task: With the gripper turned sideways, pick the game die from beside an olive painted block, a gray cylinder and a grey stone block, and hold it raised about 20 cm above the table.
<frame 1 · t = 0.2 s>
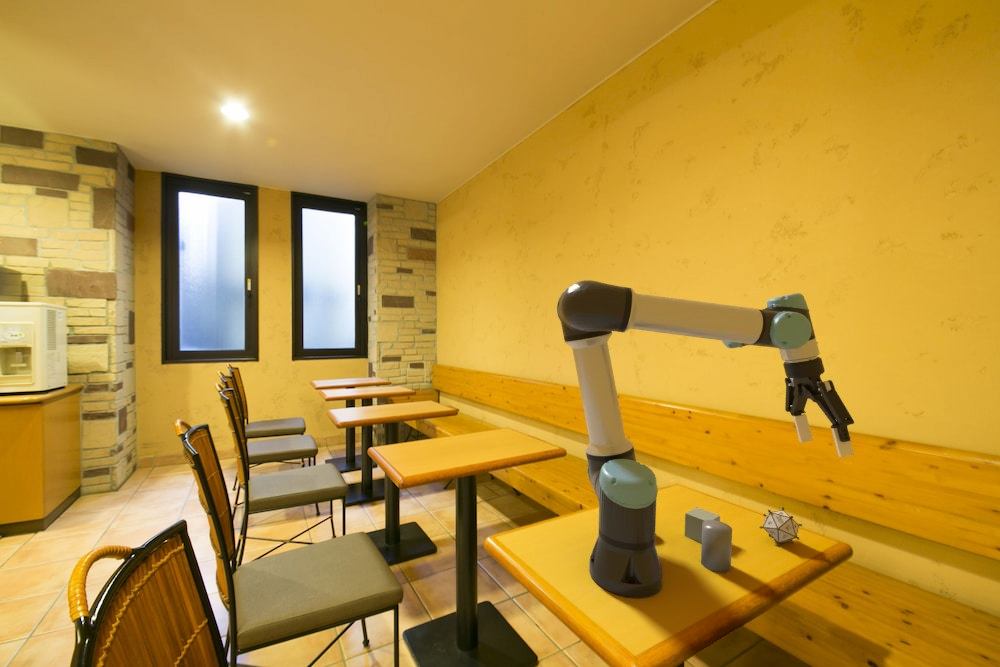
hand: (825, 448, 98), 26 cm above the table, tool tilted 15°, fingers open, 13 cm apart
stone block: (631, 528, 113), on the table
game die: (780, 542, 107), on the table
olive block: (701, 537, 108), on the table
gray cylinder: (715, 565, 96), on the table
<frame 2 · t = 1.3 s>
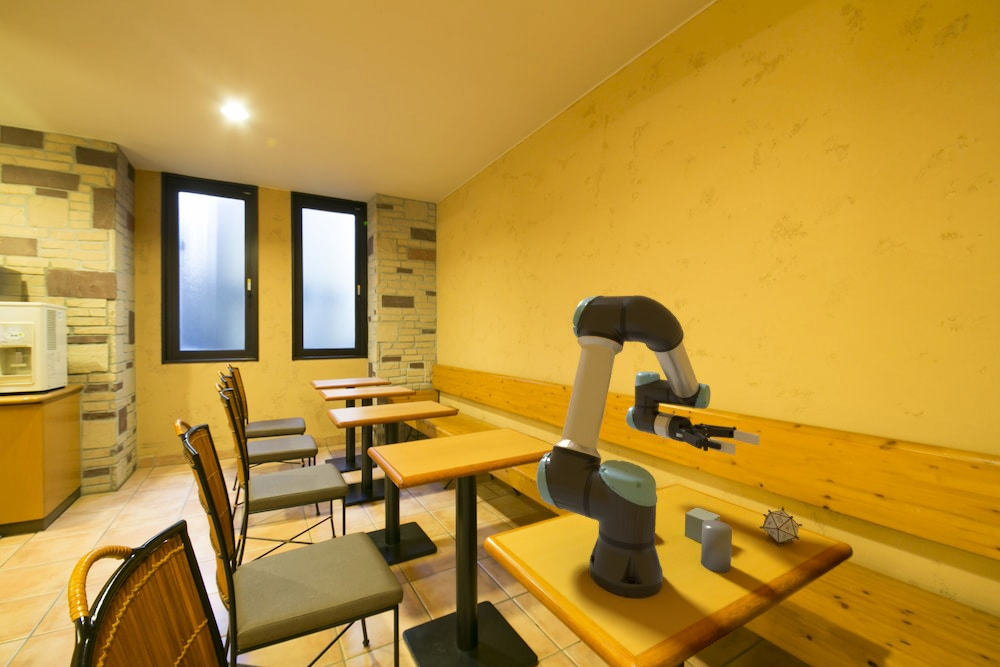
hand: (747, 444, 112), 23 cm above the table, tool horizontal, fingers open, 13 cm apart
nothing on the table moved.
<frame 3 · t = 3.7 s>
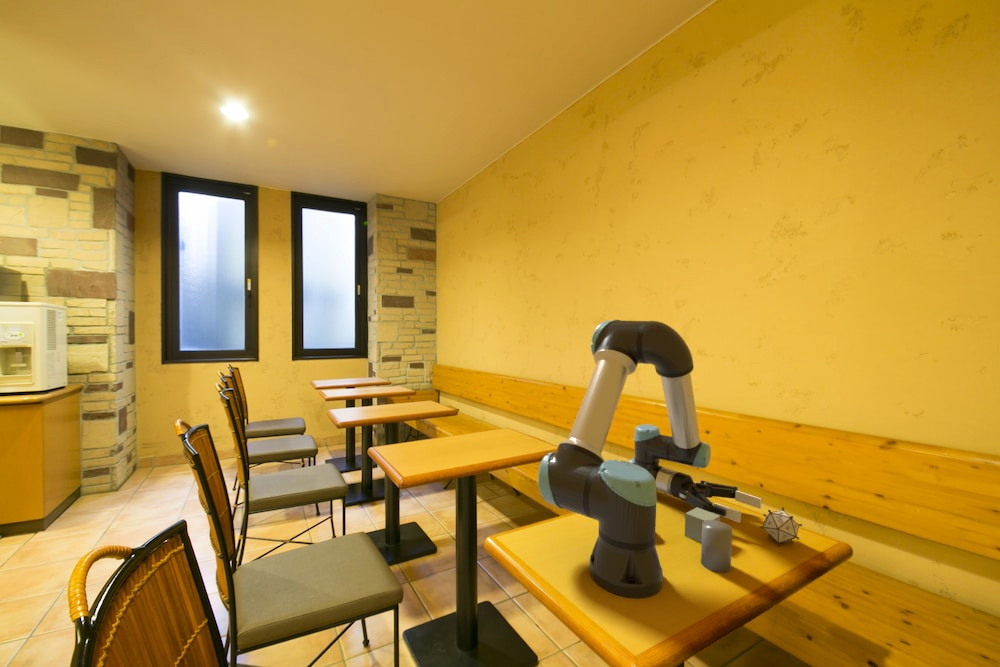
hand: (751, 510, 113), 5 cm above the table, tool horizontal, fingers open, 13 cm apart
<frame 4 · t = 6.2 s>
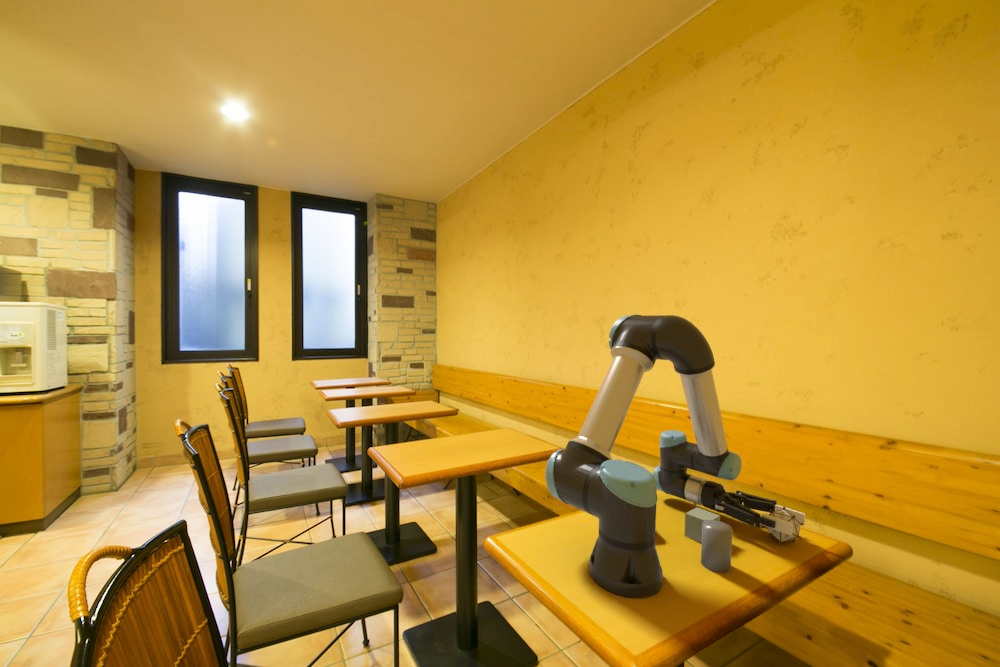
hand: (798, 524, 104), 6 cm above the table, tool horizontal, fingers closed on game die, 8 cm apart
game die: (781, 541, 107), on the table, touching gripper
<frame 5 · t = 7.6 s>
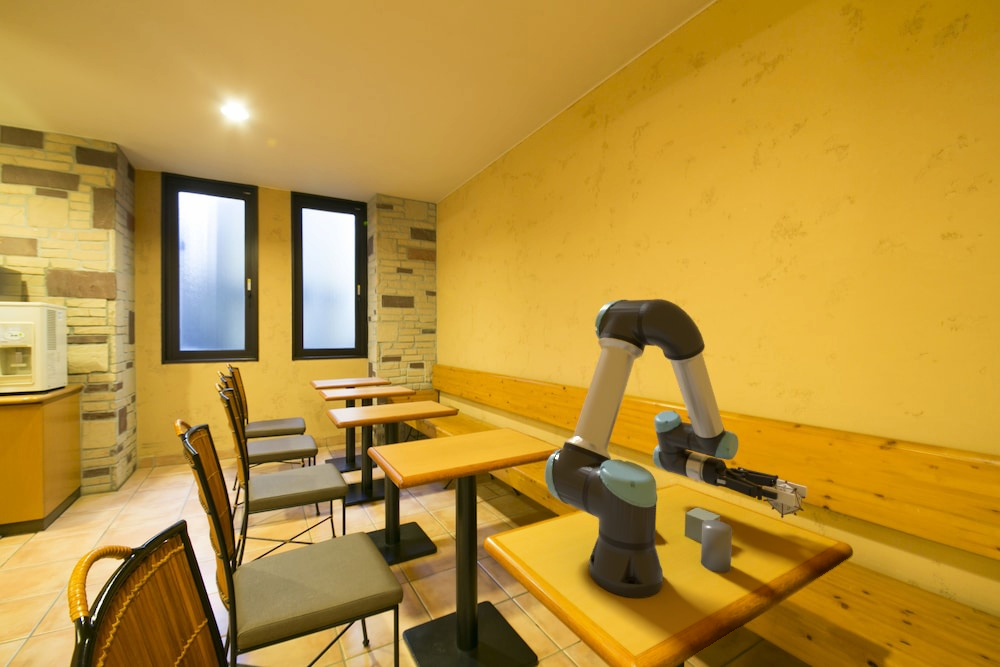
hand: (800, 496, 104), 13 cm above the table, tool horizontal, fingers closed on game die, 8 cm apart
game die: (783, 515, 107), point 7 cm above the table, touching gripper
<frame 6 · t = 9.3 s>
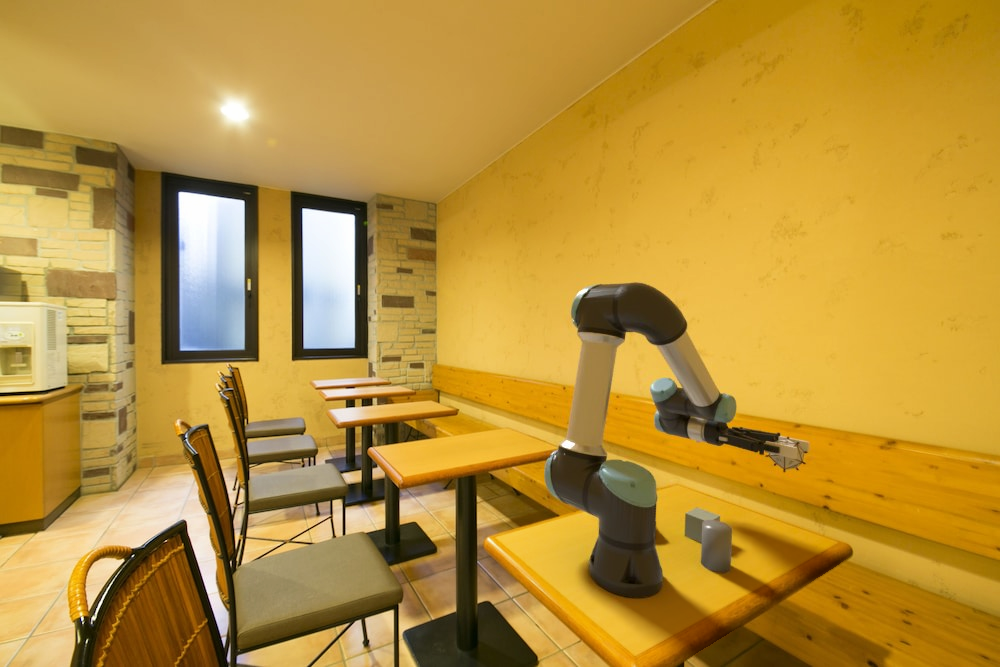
hand: (802, 450, 103), 24 cm above the table, tool horizontal, fingers closed on game die, 8 cm apart
game die: (785, 470, 107), point 18 cm above the table, touching gripper
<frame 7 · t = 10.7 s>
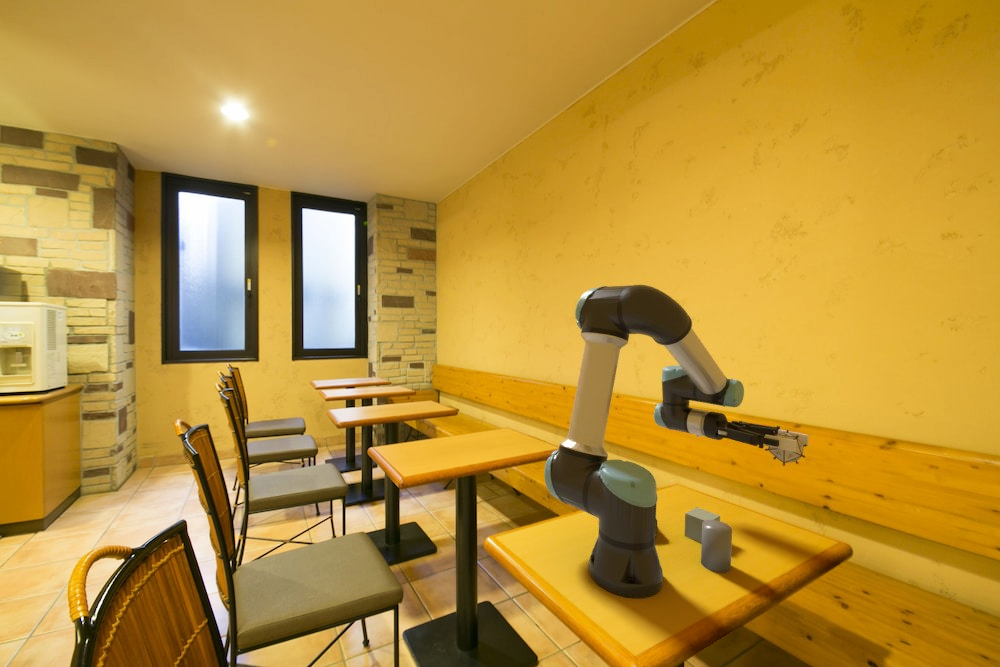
hand: (802, 443, 103), 26 cm above the table, tool horizontal, fingers closed on game die, 8 cm apart
game die: (785, 464, 107), point 20 cm above the table, touching gripper
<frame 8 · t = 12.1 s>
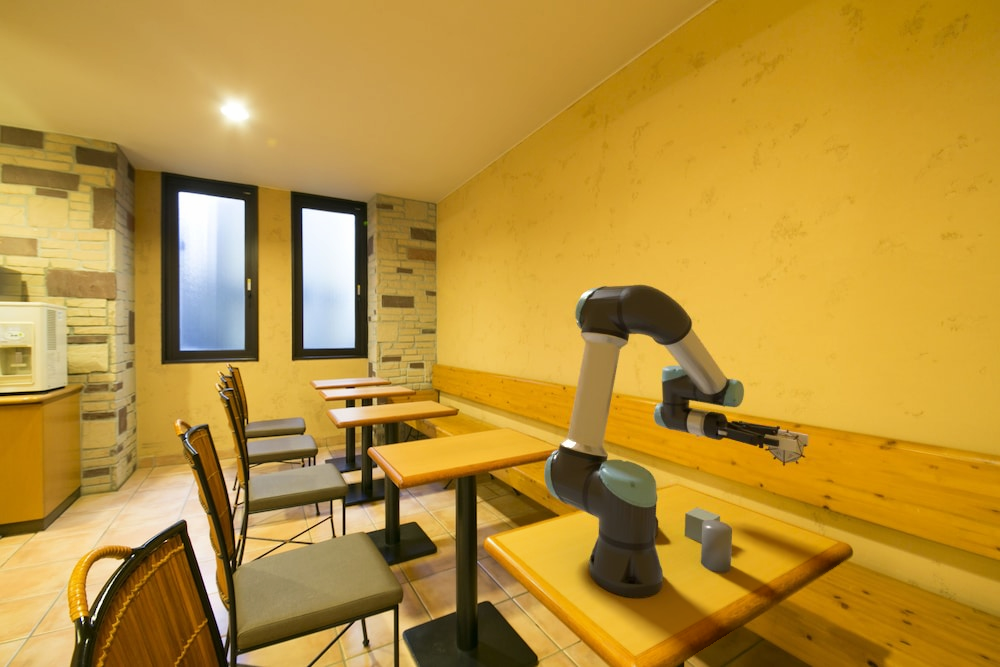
hand: (802, 443, 103), 26 cm above the table, tool horizontal, fingers closed on game die, 8 cm apart
game die: (785, 464, 107), point 20 cm above the table, touching gripper
at the end: the gripper is holding game die; game die point 19.7 cm above the table; olive block moved 0.1 cm from its start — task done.
